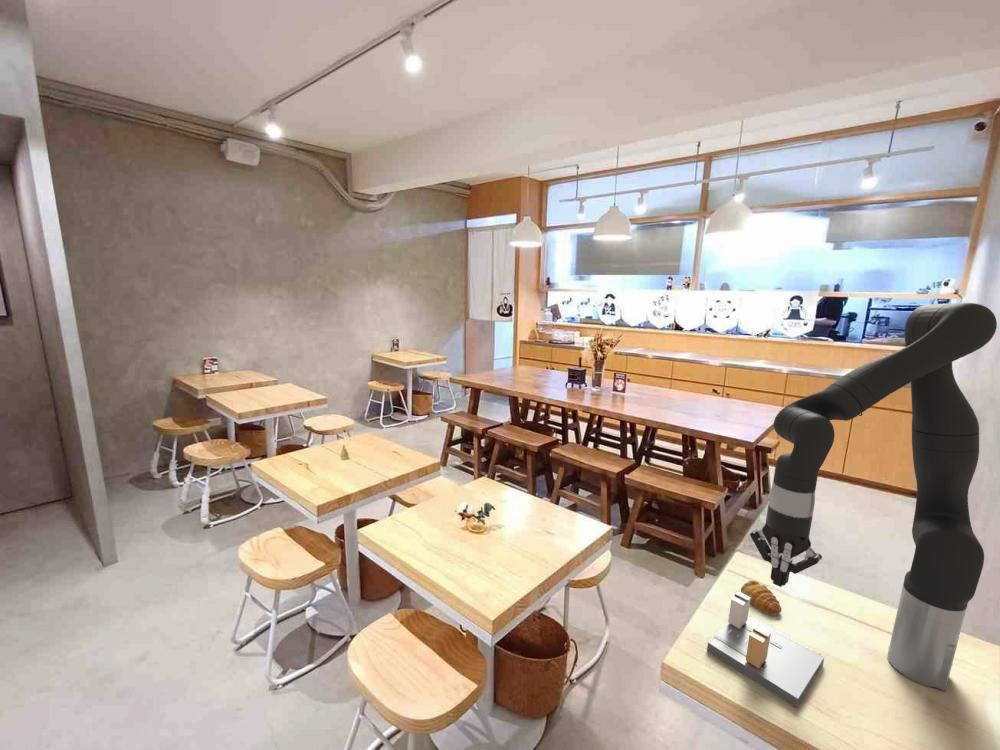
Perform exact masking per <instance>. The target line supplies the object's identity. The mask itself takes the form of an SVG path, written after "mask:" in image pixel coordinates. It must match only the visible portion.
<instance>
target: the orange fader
mask: <svg viewBox="0 0 1000 750" xmlns="http://www.w3.org/2000/svg"><path fill="white" fill-rule="evenodd" d="M770 635H771V633H770V632H768V631H766V630H765V629H763V628H761V627H759V626H757V627H756V628H753V631H752V633H751V634H750V635H749V641H748V648H747V655H746V661H748V662H749V663H751V664H752V665H754V666H756V667H757V668H759V667H760V666H761V665H762V664H763V662H764V661H765V660H766V659H767V654H768V648H769V641H770Z"/></svg>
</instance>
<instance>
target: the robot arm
mask: <svg viewBox="0 0 1000 750" xmlns="http://www.w3.org/2000/svg"><path fill="white" fill-rule="evenodd" d="M997 326H998V323H997V318H996V315H995V314H994V312H993V311H992V310H991V309H990V308H988V307H987V306H985V305H983V304H980V303H975V302H973V303H972V302H953V303H952V302H951V303H934V304H933V303H932V304H930V303H929V304H924V305H921V306H918V307H917V308H916V309H914V310H912V312H911V313H910V314H909V316H908V317H907V319H906V322H905V326H904V342H905V343H904V344H905V346H904V347H903V348H901V349H899V350H897V351H894V352H892V353H891V354H888V355H885V356H883V357H879V358H877V359H875V360H873V361H869V362H868V363H865V364H863V365H861V366H858V367H857V368H856V367H855V368H854V369H852V370H851V371H849V372H847V373H846V374H844V375H843V376H842V377H840V378H839V379H837V380H836V381H834V382H832V383H831V384H830V385H828V386H827V387H826V388H824V389H823V390H820V391H817V392H814V393H812V394H809V395H807V396H805V397H803V398H800V399H798V400H796V401H793V402H791V403H789V404H787V405H786V406H785V407H783V408H782V409H780V411H779V412H778V413H777V414H776V416H775V417H774V420H773V429H774V431H775V433H776V434H777V435H778V436H779V437H780V438H782V439H783V440H785V441H788V442H790V443H791V444H793V448H792V450H791V453H782V454H781V455H779V456H778V457H777V460H776V463H775V467H774V475H773V479H772V480H773V481H772V484H771V488H770V492H769V495H768V498H767V499H768V503H767V504H768V506H767V509H766V510H767V512H766V517H765V524H764V525H763V526H762V528H761V529H758V528H756V529H755V530H752V532H750V534H749V536H750V537H751V540H752V541H753V543H754V545H755V547H756V549H757V551H758V553H759V555H760V556H761V558H762V560H764V562H768V563H770V565H771V570H770V571H771V572H770V580H771V581H772V584H773V585H776V586H778V587H780V588H781V587H783V586H786V585H787V584H788V583H789V579H790V573H792V574H794V575H796V574H798V573H800V572H802V571H805V570H807V569H808V568H810V567H813V566H815V565H817V564H818V563H819V562H820V561H821V560H822V559H823V557H822V555H821V553H816V552H815V550H814V549H812V547H811V546H812V543H811V540H810V533H811V527H812V522H813V516H814V512H815V511H814V510H815V503H816V488H817V484H818V483H817V482H818V476H819V471H820V469H821V468H822V465H823V464H824V462H825V460H826V459H827V456H828V454H829V453H830V450H832V449H831V448H832V447H833V444H834V442H835V428H834V425H833V422H831V421H850V420H853V419H855V418H857V417H859V415H861V414H862V413H864V412H865V411H867V410H868V409H870V408H872V407H873V406H874V405H876V404H877V403H879V402H880V401H882V400H883V399H884V398H886V397H888V396H890V395H891V394H893V393H895V392H896V391H898V390H899V389H901V388H903V387H905V386H906V385H908V384H910V395H911V397H910V398H911V399H910V400H911V417H912V418H911V449H912V461H913V469H914V470H913V471H914V474H915V479H916V480H915V481H916V482H915V483H916V500H915V501H916V502H915V510H914V515H913V521H912V528H911V534H912V535H911V536H912V539H913V543H914V545H915V548H914V553H913V559H912V561H911V565H910V570H909V571H907V572H906V573H905V575H904V579H903V580H904V581H903V584H902V588H901V594H900V598H899V602H898V607H897V609H896V610H897V611H896V616H895V620H894V624H893V629H892V634H891V638H890V642H889V645H888V652H887V655H886V656H887V659H888V661H889V664H890V665H892V667H893V668H894V669H895V670H897V671H898V672H899V673H901V674H902V675H904V677H907V678H908V679H910V680H912V681H914V682H916V683H918V684H920V685H921V684H922V685H924V686H926V687H931V688H937V689H940V690H941V691H943V692H945V691H946V689H947V686H948V682H949V678H950V674H951V671H952V668H953V667H952V666H953V663H954V660H955V659H954V658H955V655H956V651H957V647H958V643H959V640H960V635H961V630H962V626H963V623H964V618H965V615H966V611H967V608H968V605H969V602H970V601H971V600H972V599H974V596H975V593H976V591H977V588H978V584H979V582H980V578H981V574H982V572H983V568H984V563H985V551H984V548H983V546H982V545H981V542H980V541H979V539H978V538H977V536H976V534H975V532H974V530H973V527H972V523H971V517H970V511H969V510H970V509H969V490H970V486H971V484H972V483H971V482H972V480H973V477H974V476H975V472H976V469H977V467H978V466H977V465H978V463H979V456H980V423H979V419H978V417H977V415H976V413H975V410H974V409H973V407H972V406H971V404H970V403H969V400H968V399H967V398H966V396H965V395H964V393H963V391H962V390H961V388H960V387H959V384H958V383H957V381H956V379H955V375H954V371H953V370H954V369H953V362H955V361H957V360H960V359H961V358H964V357H966V356H968V355H969V354H973V353H974V352H976V351H978V350H980V349H982V348H983V347H984V346H986V345H987V344H988V343H990V341H991V340H992V339H993V337H994V335H995V334H996V331H997ZM803 553H805V554H804V556H803V558H804V559H802V560H799V562H796V563H793V562H794V559H795V557H798V556H800V555H801V554H803Z"/></svg>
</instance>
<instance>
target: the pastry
mask: <svg viewBox="0 0 1000 750" xmlns="http://www.w3.org/2000/svg"><path fill="white" fill-rule="evenodd" d="M740 592H741V593H743V594H745V595H747V596H749V597H751V599H750V606H751V605H752V606H753V607H754V608H756V609H757V610H758V611H760V612H761V613H764V614H766V615H768V616H770V617H775V616H779V615H780V614H781V612H782V607H781V605H780V601H779V600H778V599H777V596H775V595H774V593H773V592H772V591H771V589H768V587H767V586H766V585H764V584H760V582H759V581H757V580H753V579H752V580H749V581H747V582H745V583H744V584H743V585H742V587H741V588H740Z"/></svg>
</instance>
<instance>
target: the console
mask: <svg viewBox="0 0 1000 750" xmlns="http://www.w3.org/2000/svg"><path fill="white" fill-rule="evenodd" d="M757 626H759V627H761V628H763V629H765V630H766V631H768V632H770V633H771V635H770V641H769V648H768V654H767V659H766V660H765V661H764V662H763V664H762V665H761V666H760V667H759V668H757V667H756V666H754V665H752V664H751V663H749V662H748V661H746V655H747V648H748V641H749V635H750V634H751V633H752V631H753V628H756V627H757ZM706 650H707V652H709V653H710V654H712V655H713V656H715V657H717V658H718V659H719V660H721V661H723V662H724V663H726V664H727V665H729V666H730V667H732V668H734V669H735V670H737V671H738V672H740V673H742V674H743V675H745V676H747V677H748V678H749V679H751V680H752V681H754V682H756V683H757V684H759V685H760V686H762V687H764V688H765V689H766V690H768V691H769V692H771V693H772V694H774V695H776V696H777V697H778V698H781V699H782V700H784V702H787V703H788V704H790V705H791V706H793V707H794V708H796V709H797V707H798V706H799V704H800V703H801V701H802V699H803V698H804V696H805V695H806V693H807V692H808V690H809V688H811V687H810V686H811V685H812V684H813V682H814V680H815V678H816V677H817V675H818V674H819V672H820V670H822V667H823V665H824V661H825V656H824V655H822V654H821V653H818V652H816V651H814V650H812V649H810V648H809V647H807V646H806V645H804V644H801V643H799V642H798V641H796V640H794V639H792V638H791V637H790V636H789V637H788V636H787V635H785V634H783V633H781V632H779V631H777V630H775V629H774V628H772V627H770V626H769V625H766V624H765V623H763V622H761V621H759V620H757V619H755V618H754V617H751V616H750V615H748V619H747V622H746V623H745V624H744V625H743V626H742V627H741V628H740V629H739V628H737V627H735V626H734V625H732V624H730V623H728V622H726V624H725V625H724V626H723V627H722V628H721V629H720V630H719V631H718V632H717V633H716V634H714V635H713V637H712V638H711V639H710V640H709V641H708V642H707V646H706Z"/></svg>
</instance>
